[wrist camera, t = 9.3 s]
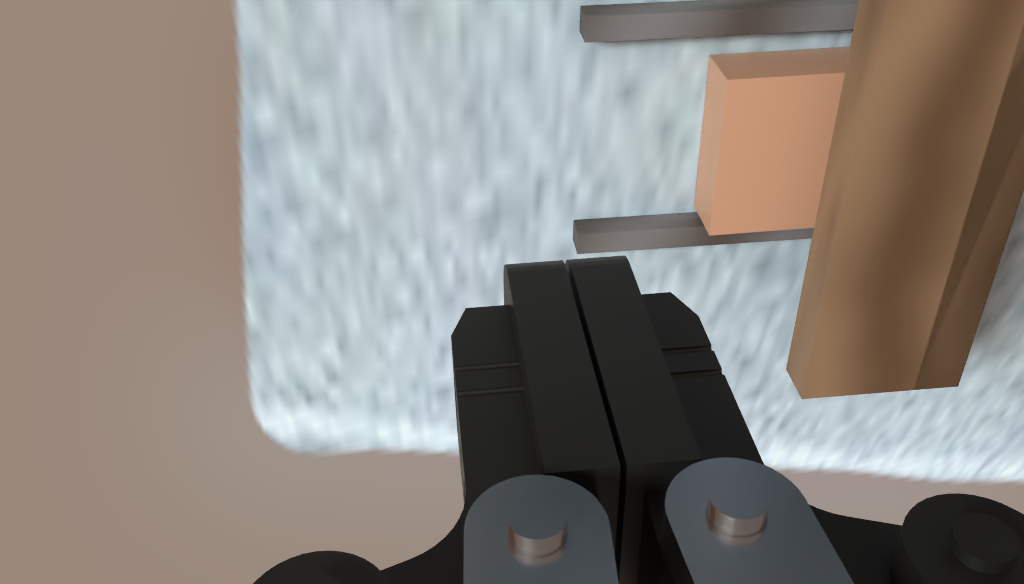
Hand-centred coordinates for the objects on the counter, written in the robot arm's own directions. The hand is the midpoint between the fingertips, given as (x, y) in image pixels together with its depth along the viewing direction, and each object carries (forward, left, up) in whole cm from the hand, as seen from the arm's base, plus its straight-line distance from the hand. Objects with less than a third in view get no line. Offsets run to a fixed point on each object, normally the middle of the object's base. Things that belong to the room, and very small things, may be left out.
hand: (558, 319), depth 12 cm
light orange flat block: (-14, +11, -27) cm, 33 cm away
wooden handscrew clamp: (-14, +11, -27) cm, 32 cm away
